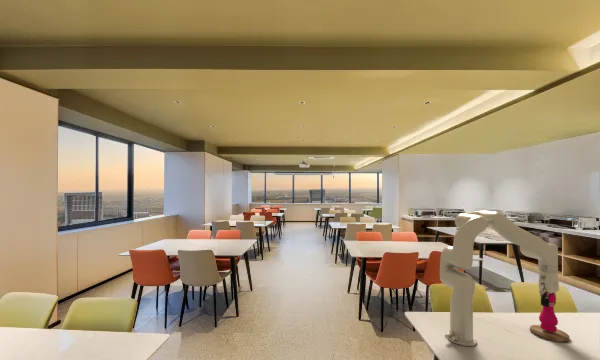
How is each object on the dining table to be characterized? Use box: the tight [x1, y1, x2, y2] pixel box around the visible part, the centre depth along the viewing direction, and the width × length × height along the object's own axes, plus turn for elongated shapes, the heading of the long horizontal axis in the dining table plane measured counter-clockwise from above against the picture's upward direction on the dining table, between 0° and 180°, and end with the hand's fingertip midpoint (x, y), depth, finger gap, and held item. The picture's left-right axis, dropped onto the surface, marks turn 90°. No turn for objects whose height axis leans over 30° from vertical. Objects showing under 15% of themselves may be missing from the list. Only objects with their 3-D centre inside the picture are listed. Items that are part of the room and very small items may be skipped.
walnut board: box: [529, 324, 570, 344], centre depth 147 cm, size 15×15×2 cm
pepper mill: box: [538, 290, 559, 332], centre depth 148 cm, size 7×7×20 cm
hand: (548, 304), depth 148 cm, fingers closed on pepper mill, 6 cm apart
